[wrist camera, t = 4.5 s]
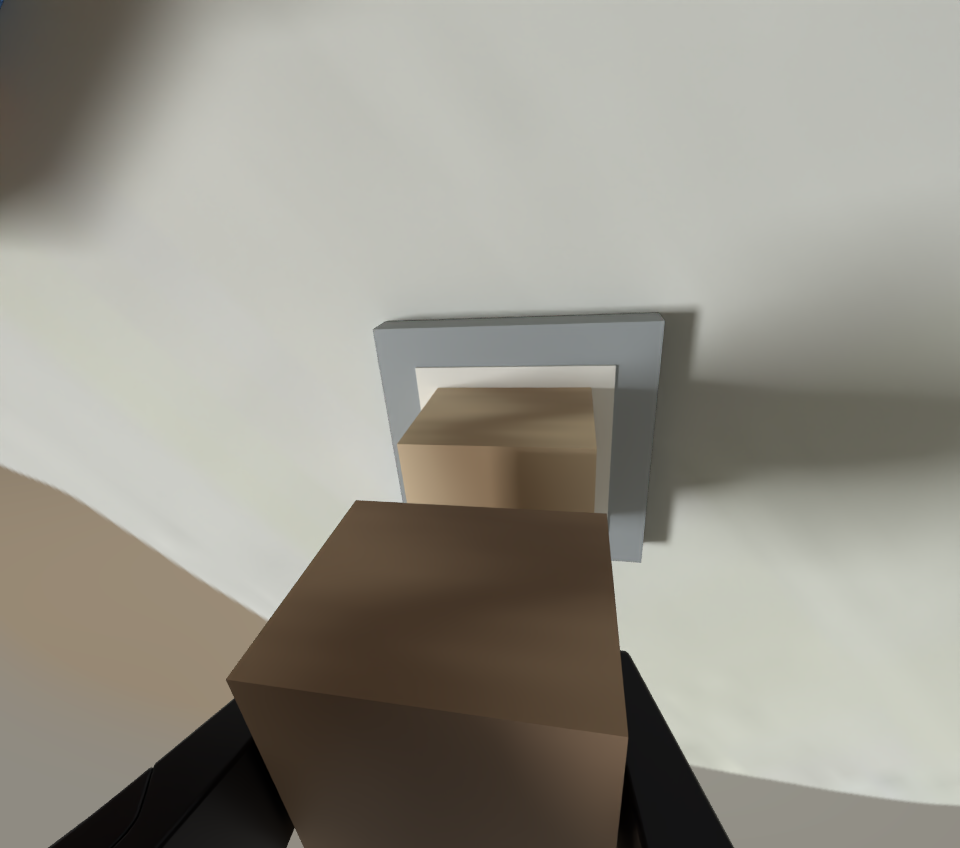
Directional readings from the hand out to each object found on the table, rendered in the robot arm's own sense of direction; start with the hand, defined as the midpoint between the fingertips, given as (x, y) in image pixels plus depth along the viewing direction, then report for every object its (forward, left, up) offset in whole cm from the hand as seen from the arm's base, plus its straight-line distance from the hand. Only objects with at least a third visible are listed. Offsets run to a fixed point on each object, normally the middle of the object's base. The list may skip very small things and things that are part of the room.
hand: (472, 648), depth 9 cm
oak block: (0, 0, -8) cm, 8 cm away
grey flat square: (0, 0, -9) cm, 9 cm away
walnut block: (0, 0, -1) cm, 1 cm away
